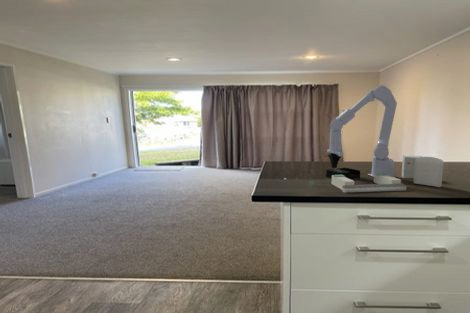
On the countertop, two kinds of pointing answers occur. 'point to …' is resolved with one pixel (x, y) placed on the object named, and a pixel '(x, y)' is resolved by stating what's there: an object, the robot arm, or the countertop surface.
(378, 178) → the block
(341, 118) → the robot arm
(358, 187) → the rail
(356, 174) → the battery charger
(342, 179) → the block
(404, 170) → the small box
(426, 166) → the photo printer
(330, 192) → the countertop surface
